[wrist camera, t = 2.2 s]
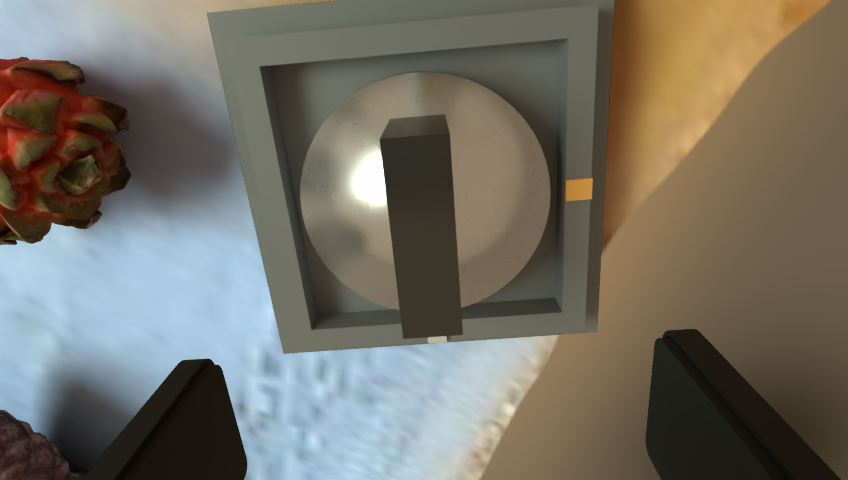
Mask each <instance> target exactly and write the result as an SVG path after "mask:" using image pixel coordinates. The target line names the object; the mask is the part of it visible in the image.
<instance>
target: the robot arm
mask: <svg viewBox="0 0 848 480" xmlns="http://www.w3.org/2000/svg"><path fill="white" fill-rule="evenodd" d="M646 448H647V451H648V455H649V457H650V459H651V461H652V463H653V464H654V467H655V468H656V471H657V472H658V474H659V476H660V478H661V480H841V479H840V478H839V477H838V476H837V475H836V474H835V473H834V472H833V471H832V470H831V469H830V468H829V467H828V466H827V465H826V463H825V462H824V461H823V460H822V459H821V458H820V457H819V456H818V455H817V454H816V453H815V452H814V451H813V450H812V449H811V448H810V447H809V446H808V445H807V444H806V443H805V441H804V440H803V439H802V438H801V437H800V436H799V435H798V434H797V433H796V432H795V431H794V430H793V429H792V428H791V427H790V426H789V425H788V424H787V423H786V422H785V421H784V419H782V417H781V416H780V415H779V414H778V413H777V412H776V411H775V410H774V409H773V408H772V407H771V406H770V405H769V404H768V403H767V402H766V401H765V400H764V399H763V398H762V397H761V396H760V395H759V394H758V393H757V392H756V391H755V390H754V388H753V387H752V386H751V385H750V384H749V383H748V382H747V381H746V380H745V379H744V378H743V377H742V376H741V375H740V374H739V373H738V372H737V371H736V370H735V369H734V367H733V366H731V364H730V363H729V362H728V361H727V360H726V359H725V358H724V357H723V356H722V355H721V354H720V353H719V352H718V351H717V350H716V349H715V348H714V347H713V345H712V344H711V343H710V342H709V341H708V340H707V339H706V338H705V337H704V336H703V335H702V334H701V333H700V332H699V331H698V330H696V329H685V330H669V331H666V332H665V333H664V335H663V338H658V339H656V341H655V346H654V356H653V367H652V377H651V387H650V399H649V408H648V419H647V429H646ZM246 471H247V459H246V455H245V451H244V447H243V444H242V440H241V437H240V433H239V429H238V426H237V422H236V418H235V415H234V411H233V407H232V404H231V400H230V397H229V393H228V389H227V386H226V382H225V378H224V375H223V371H222V369H221V367H220V366H219V365H214V363H213V361H212V360H210V359H195V360H183V361H181V362H180V363H179V364H178V365H177V366H176V367H175V368H174V370H173V371H172V372H171V373H170V374H169V376H168V377H167V378H166V379H165V380H164V382H163V383H162V384H161V385H160V386H159V388H158V389H157V390H156V391H155V392H154V394H153V395H152V396H151V397H150V398H149V400H148V401H147V402H146V403H145V405H144V406H143V407H142V408H141V409H140V411H139V412H138V413H137V414H136V415H135V417H134V418H133V419H132V420H131V421H130V423H129V424H128V425H127V426H126V427H125V429H124V430H123V431H122V432H121V433H120V435H119V436H118V437H117V438H116V439H115V441H114V442H113V443H112V444H111V446H110V447H109V448H108V449H107V450H106V452H105V453H104V454H103V455H102V456H101V458H100V459H99V460H98V461H97V462H96V464H95V465H94V466H93V467H92V468H91V470H90V471H89V472H88V473H87V474H86V476H85V477H84V478H83V479H82V480H244V478H245V475H246Z"/></svg>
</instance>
